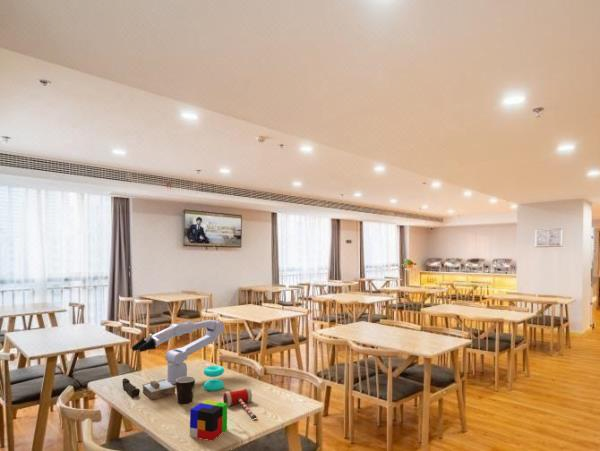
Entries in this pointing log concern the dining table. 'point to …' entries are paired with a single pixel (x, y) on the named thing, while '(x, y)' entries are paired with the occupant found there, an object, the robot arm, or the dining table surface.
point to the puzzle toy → (208, 419)
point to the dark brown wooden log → (130, 388)
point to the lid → (157, 385)
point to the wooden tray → (159, 392)
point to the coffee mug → (185, 389)
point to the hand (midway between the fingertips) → (136, 349)
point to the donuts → (213, 383)
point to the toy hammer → (239, 399)
